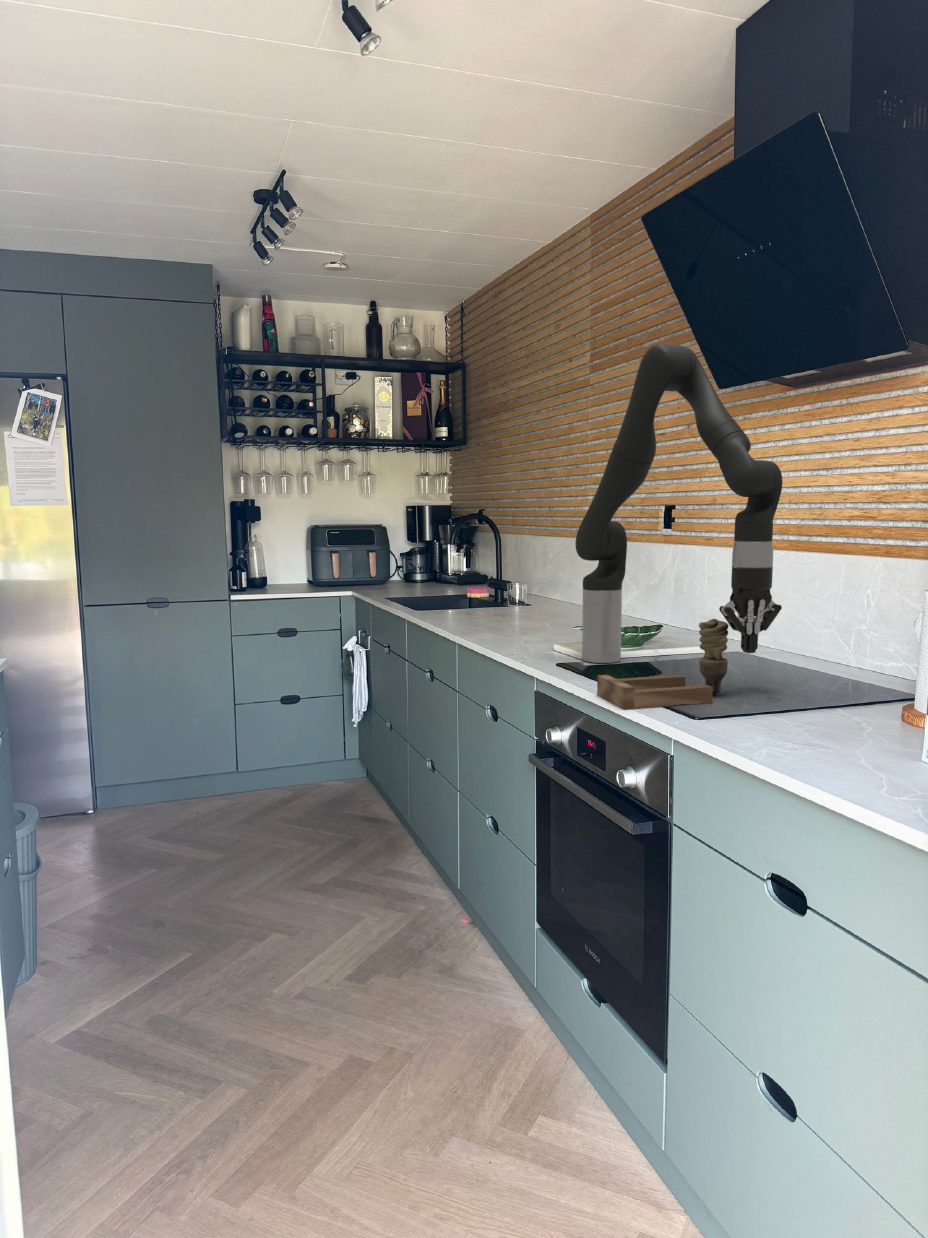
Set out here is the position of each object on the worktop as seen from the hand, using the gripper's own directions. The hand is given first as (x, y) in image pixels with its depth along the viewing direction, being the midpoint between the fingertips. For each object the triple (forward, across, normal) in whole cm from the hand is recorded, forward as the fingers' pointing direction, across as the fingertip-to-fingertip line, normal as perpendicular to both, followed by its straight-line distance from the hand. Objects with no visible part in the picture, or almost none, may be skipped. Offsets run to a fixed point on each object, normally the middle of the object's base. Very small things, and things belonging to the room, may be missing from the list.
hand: (748, 652), depth 162 cm
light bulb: (+8, +8, 0) cm, 11 cm away
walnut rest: (+8, +20, 0) cm, 21 cm away
